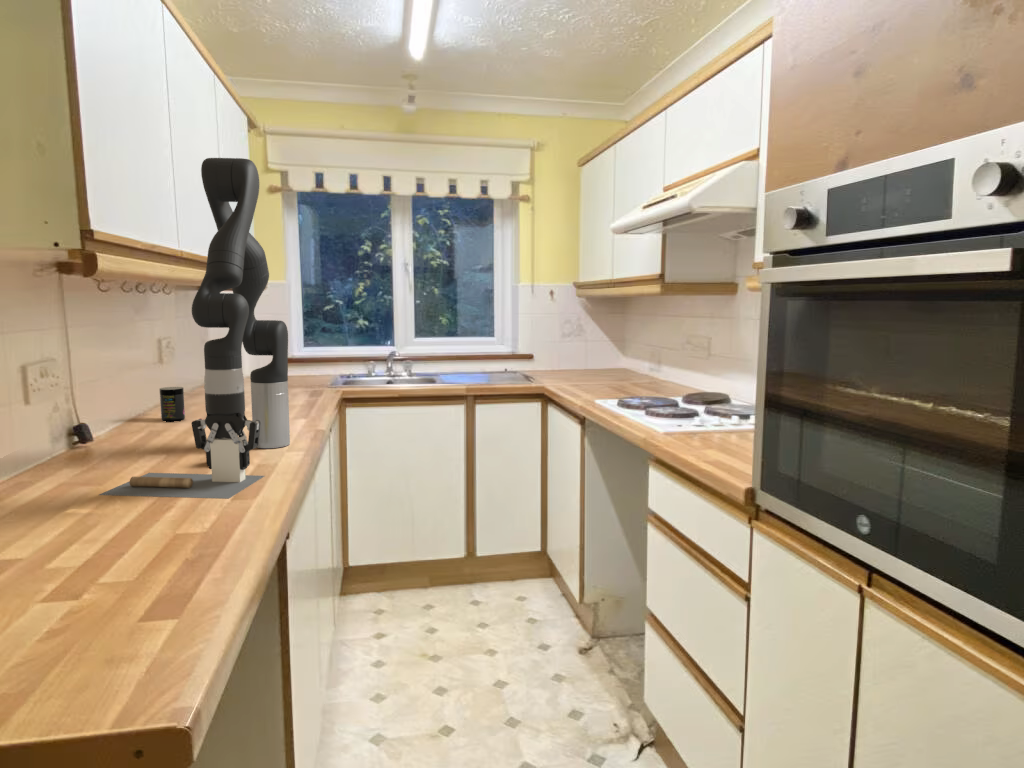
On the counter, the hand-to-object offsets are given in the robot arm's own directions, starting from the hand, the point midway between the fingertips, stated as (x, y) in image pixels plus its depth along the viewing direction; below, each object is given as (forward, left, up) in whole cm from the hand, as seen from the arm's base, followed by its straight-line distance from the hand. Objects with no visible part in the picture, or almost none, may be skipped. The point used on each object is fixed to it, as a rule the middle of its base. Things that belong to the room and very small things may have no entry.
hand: (228, 468), depth 133 cm
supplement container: (-65, -51, -3) cm, 83 cm away
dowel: (+6, -11, -3) cm, 13 cm away
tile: (0, 0, -3) cm, 3 cm away
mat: (+4, -7, -3) cm, 9 cm away
